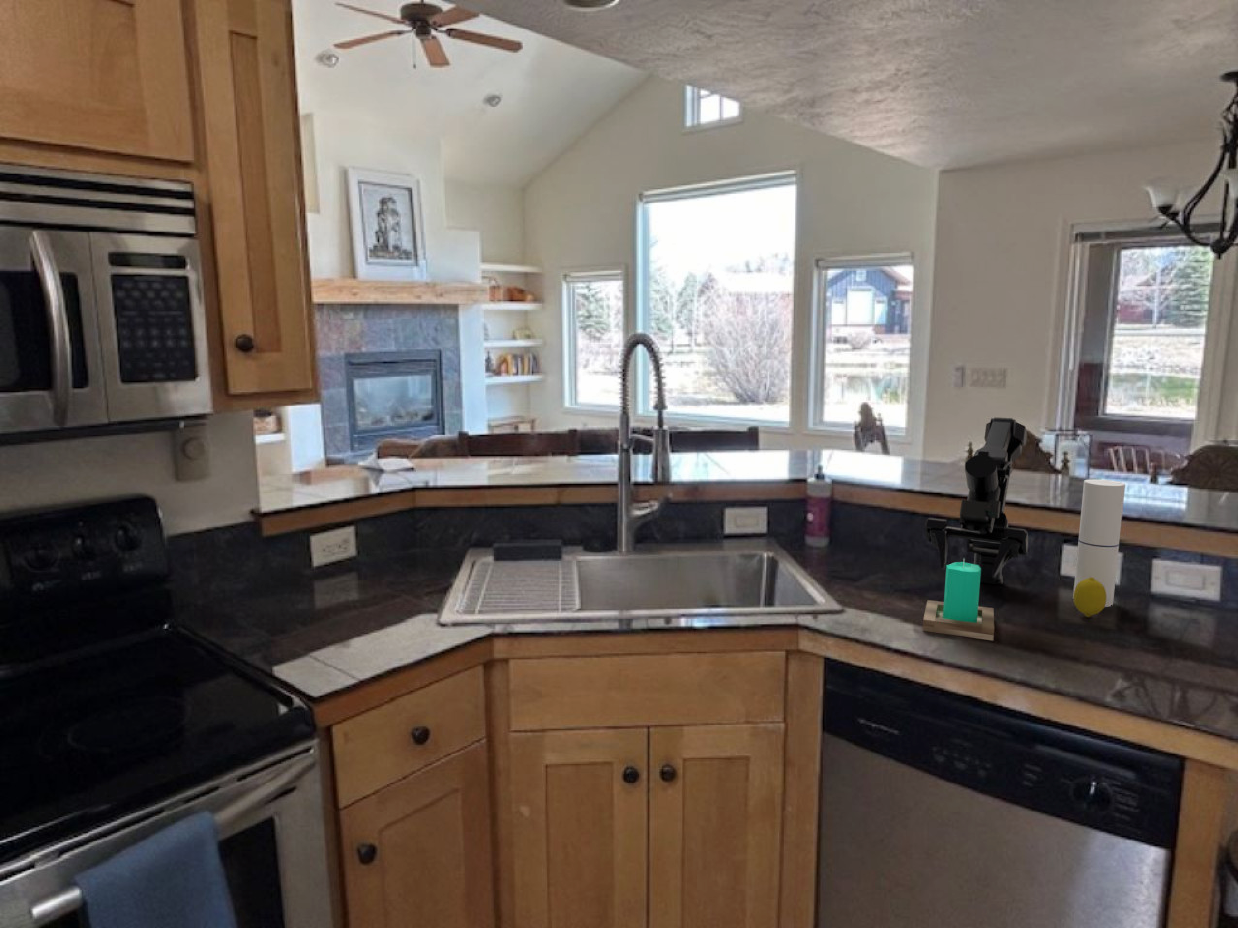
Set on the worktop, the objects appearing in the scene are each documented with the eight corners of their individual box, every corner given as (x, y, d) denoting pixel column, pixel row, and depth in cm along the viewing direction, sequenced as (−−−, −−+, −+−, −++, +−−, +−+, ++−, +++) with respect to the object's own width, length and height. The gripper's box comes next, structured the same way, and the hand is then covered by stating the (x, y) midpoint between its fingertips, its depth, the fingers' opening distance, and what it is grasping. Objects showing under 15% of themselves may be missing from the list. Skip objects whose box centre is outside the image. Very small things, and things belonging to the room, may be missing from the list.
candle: (965, 613, 157) (970, 553, 155) (983, 624, 151) (988, 562, 149) (936, 615, 156) (940, 554, 154) (953, 626, 150) (958, 563, 148)
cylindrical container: (1075, 604, 165) (1086, 484, 161) (1070, 594, 172) (1081, 478, 168) (1115, 608, 162) (1128, 486, 158) (1109, 598, 169) (1121, 480, 165)
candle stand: (926, 610, 162) (927, 600, 161) (992, 619, 157) (993, 608, 156) (922, 630, 151) (923, 619, 150) (993, 640, 146) (994, 628, 146)
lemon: (1095, 612, 160) (1099, 573, 159) (1109, 622, 155) (1113, 582, 154) (1066, 611, 161) (1070, 572, 160) (1079, 621, 155) (1083, 581, 154)
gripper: (928, 479, 164) (912, 544, 156) (1031, 488, 154) (1018, 558, 146) (935, 509, 171) (919, 572, 164) (1032, 520, 161) (1021, 588, 154)
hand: (967, 572), depth 157 cm, fingers open, 9 cm apart
